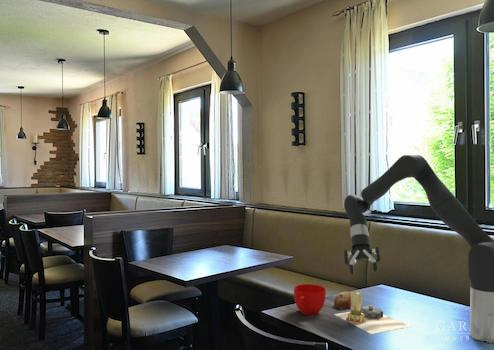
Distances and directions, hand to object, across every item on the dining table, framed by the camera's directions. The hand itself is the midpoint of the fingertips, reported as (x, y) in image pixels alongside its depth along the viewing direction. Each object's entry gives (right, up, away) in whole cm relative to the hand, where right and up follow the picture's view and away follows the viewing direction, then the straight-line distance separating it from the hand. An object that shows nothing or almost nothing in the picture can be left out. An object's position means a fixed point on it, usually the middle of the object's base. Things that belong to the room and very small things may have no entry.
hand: (364, 273), depth 175 cm
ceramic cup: (-22, -17, +1) cm, 28 cm away
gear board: (0, -17, -10) cm, 20 cm away
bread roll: (-4, -17, +12) cm, 21 cm away
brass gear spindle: (-6, -15, -9) cm, 19 cm away
